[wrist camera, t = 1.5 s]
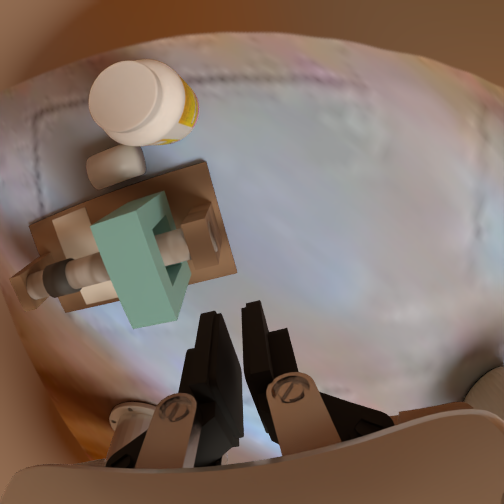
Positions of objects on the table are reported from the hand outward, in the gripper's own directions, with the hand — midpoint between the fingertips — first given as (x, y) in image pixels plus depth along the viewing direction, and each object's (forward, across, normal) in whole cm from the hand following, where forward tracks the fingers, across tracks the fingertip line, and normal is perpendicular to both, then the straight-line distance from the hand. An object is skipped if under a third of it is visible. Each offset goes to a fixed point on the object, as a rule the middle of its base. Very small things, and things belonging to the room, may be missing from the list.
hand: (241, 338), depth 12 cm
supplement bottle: (+21, +4, -12) cm, 25 cm away
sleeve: (+21, +10, -9) cm, 25 cm away
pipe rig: (+21, +13, 0) cm, 25 cm away
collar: (+20, +8, 0) cm, 21 cm away
